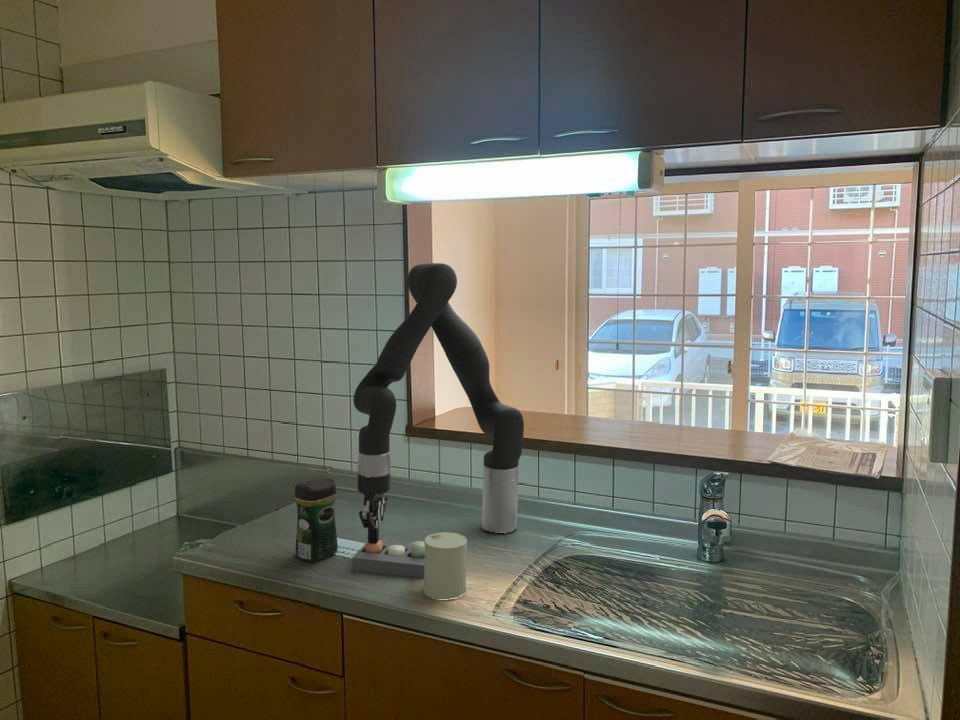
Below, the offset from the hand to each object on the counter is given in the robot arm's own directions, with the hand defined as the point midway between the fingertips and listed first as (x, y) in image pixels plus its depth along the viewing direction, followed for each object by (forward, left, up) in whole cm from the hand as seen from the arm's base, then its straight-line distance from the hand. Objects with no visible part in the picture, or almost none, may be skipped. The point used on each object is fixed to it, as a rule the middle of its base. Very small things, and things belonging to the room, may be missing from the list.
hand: (373, 542), depth 173 cm
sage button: (0, +11, -2) cm, 11 cm away
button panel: (0, +6, -5) cm, 7 cm away
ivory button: (0, +6, -4) cm, 7 cm away
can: (+11, +20, -5) cm, 24 cm away
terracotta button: (0, 0, -3) cm, 3 cm away
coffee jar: (0, -14, -5) cm, 15 cm away
